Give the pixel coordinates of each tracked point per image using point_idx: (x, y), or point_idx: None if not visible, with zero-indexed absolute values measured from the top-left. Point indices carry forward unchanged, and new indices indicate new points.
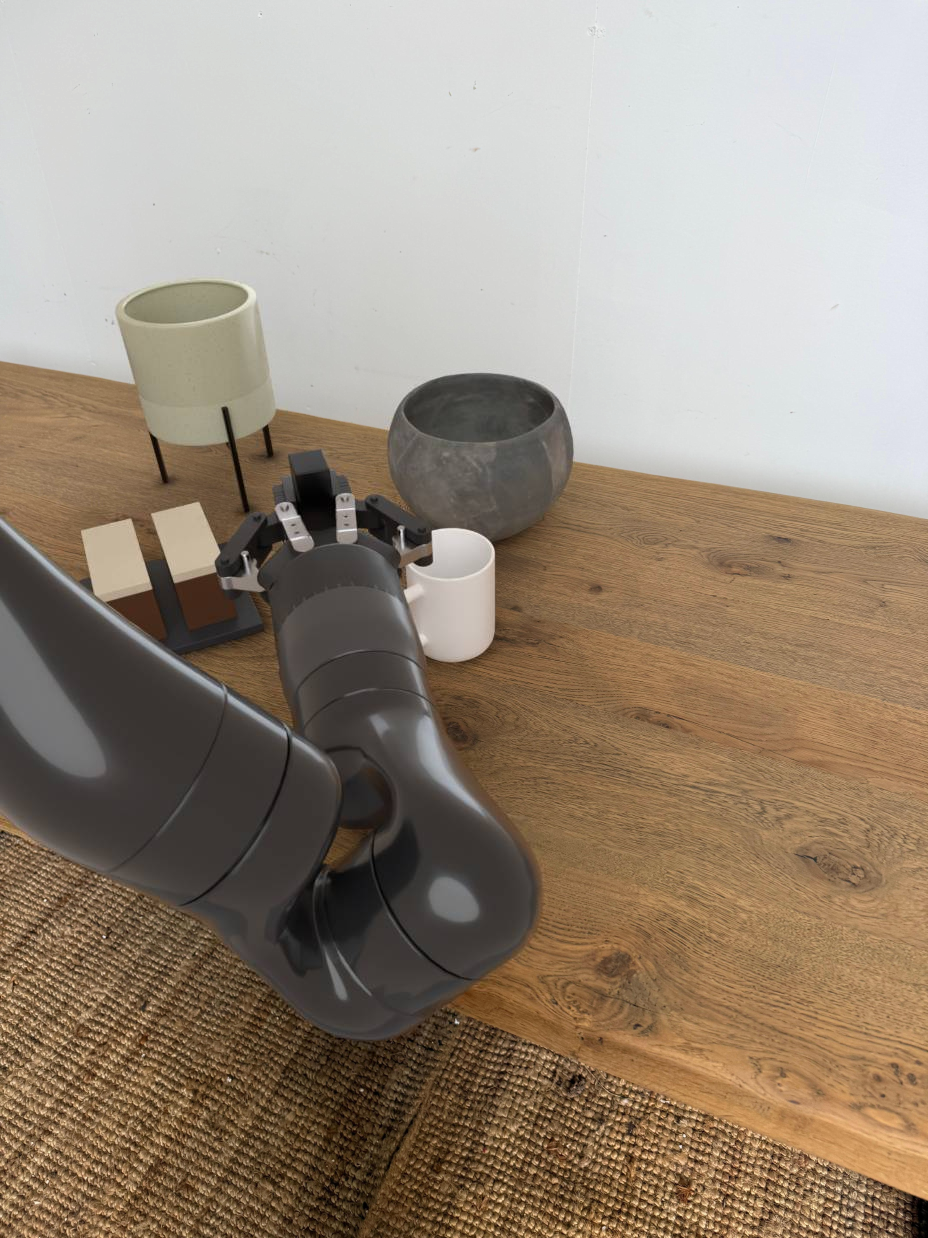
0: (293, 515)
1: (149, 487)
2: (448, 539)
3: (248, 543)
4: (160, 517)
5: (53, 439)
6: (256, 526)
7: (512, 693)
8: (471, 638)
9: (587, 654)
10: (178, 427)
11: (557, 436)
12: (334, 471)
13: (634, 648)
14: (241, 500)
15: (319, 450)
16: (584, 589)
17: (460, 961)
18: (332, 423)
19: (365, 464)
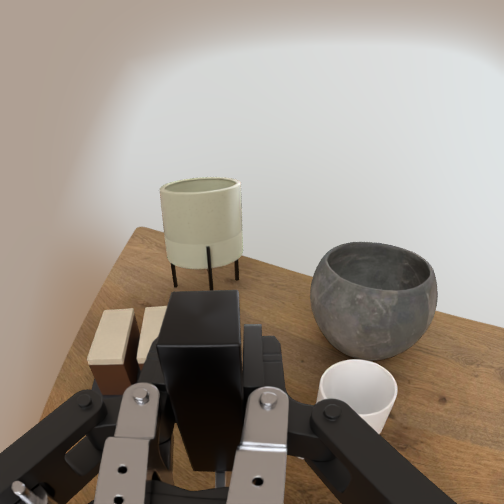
0: (146, 425)
1: (166, 288)
2: (355, 368)
3: (38, 464)
4: (149, 311)
5: (136, 257)
6: (70, 428)
7: None
8: None
9: (439, 457)
10: (179, 256)
11: (434, 290)
12: (260, 329)
13: (468, 450)
14: None
15: (233, 293)
16: (435, 400)
17: None
18: (276, 266)
19: (292, 292)
